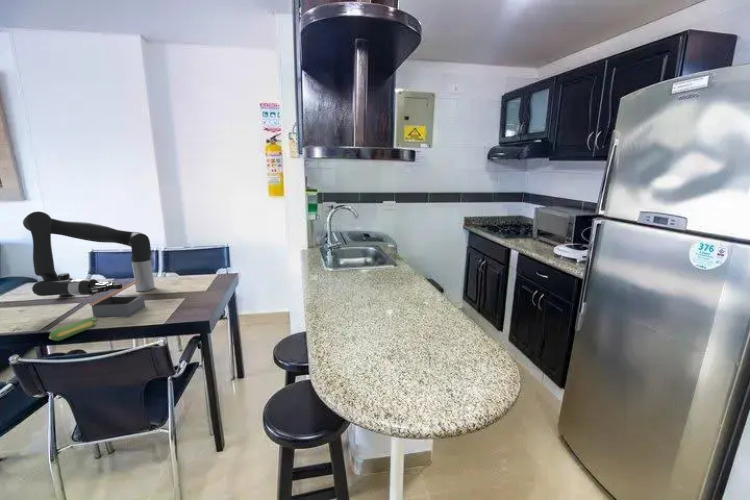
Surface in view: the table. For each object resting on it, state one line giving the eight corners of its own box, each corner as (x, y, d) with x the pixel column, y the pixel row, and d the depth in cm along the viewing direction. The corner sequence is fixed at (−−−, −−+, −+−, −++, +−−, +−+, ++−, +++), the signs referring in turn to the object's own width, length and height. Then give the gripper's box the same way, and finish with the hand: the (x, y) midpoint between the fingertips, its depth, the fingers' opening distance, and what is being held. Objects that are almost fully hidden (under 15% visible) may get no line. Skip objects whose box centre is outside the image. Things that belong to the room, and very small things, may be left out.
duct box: (112, 307, 177) (110, 296, 176) (145, 306, 178) (143, 295, 177) (93, 317, 164) (91, 305, 163) (129, 316, 165) (127, 304, 164)
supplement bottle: (78, 293, 197) (74, 273, 194) (64, 297, 190) (60, 276, 188) (70, 292, 199) (66, 272, 196) (56, 296, 193) (52, 275, 190)
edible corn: (43, 332, 140) (50, 330, 139) (94, 314, 159) (101, 313, 157) (48, 344, 140) (55, 343, 139) (98, 325, 159) (105, 323, 158)
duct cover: (110, 295, 176) (109, 294, 176) (139, 281, 175) (138, 280, 175) (90, 305, 162) (89, 304, 162) (121, 290, 162) (120, 289, 162)
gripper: (71, 283, 160) (110, 283, 161) (92, 275, 173) (128, 275, 174) (74, 299, 162) (113, 298, 163) (94, 290, 175) (131, 289, 176)
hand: (121, 286), depth 168 cm, fingers closed
